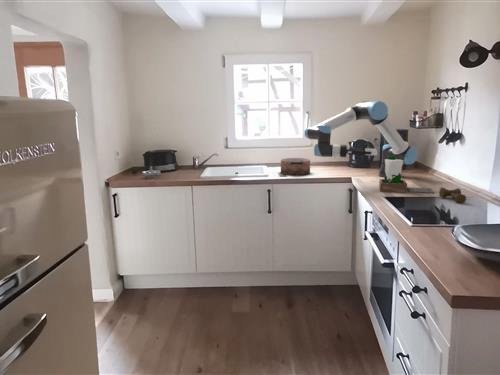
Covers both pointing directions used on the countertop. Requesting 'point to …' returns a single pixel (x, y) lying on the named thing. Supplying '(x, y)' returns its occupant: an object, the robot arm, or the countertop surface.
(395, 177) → the soya milk
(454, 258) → the countertop surface
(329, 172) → the countertop surface
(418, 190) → the rubber mat
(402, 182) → the collar
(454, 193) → the kendama
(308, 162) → the wicker basket
